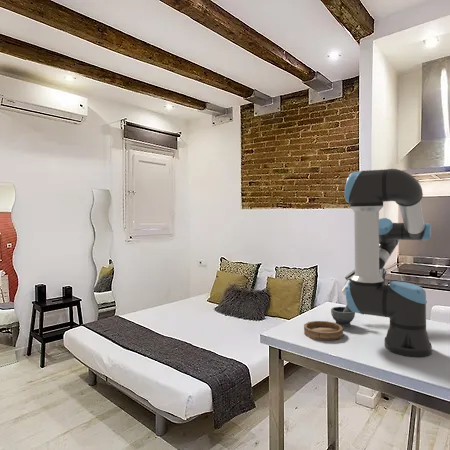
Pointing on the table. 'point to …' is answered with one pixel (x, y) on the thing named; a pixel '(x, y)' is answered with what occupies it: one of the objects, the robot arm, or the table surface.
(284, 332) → the table surface
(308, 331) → the round wooden tray
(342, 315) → the mortar and pestle
